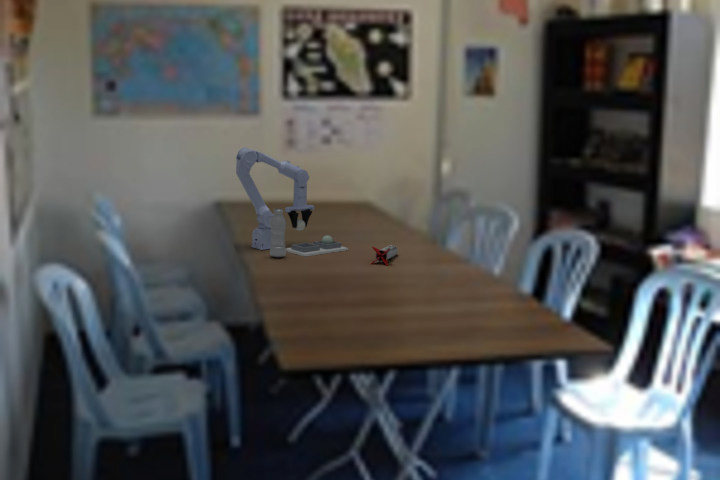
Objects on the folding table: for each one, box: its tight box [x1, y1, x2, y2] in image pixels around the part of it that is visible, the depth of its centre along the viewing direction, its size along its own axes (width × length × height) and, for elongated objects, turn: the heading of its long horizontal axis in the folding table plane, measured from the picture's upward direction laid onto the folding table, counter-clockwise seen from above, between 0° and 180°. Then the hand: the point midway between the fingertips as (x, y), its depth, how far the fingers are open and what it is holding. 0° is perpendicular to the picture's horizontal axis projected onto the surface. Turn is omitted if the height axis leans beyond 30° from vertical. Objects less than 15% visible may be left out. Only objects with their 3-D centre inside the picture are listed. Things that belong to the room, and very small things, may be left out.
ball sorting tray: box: [286, 240, 349, 258], centre depth 369 cm, size 24×14×3 cm, turn 132°
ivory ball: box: [294, 218, 306, 231], centre depth 376 cm, size 5×5×5 cm
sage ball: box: [321, 235, 334, 244], centre depth 373 cm, size 5×5×5 cm
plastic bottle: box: [269, 208, 287, 259], centre depth 352 cm, size 6×7×20 cm
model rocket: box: [369, 244, 399, 267], centre depth 356 cm, size 11×23×10 cm
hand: (299, 227), depth 377 cm, fingers closed on ivory ball, 5 cm apart
